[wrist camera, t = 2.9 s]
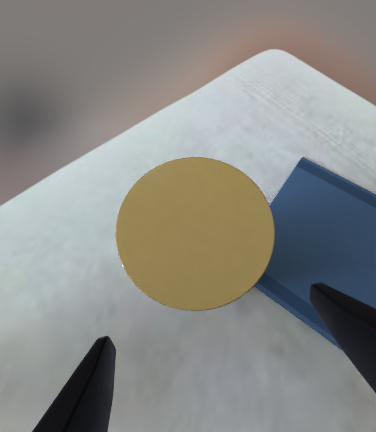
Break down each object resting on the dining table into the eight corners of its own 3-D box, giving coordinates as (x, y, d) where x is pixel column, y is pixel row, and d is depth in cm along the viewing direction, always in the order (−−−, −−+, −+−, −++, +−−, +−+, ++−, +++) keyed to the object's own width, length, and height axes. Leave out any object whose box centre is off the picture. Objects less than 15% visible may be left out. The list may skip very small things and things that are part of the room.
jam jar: (239, 254, 20) (304, 206, 8) (203, 309, 18) (214, 355, 6) (189, 220, 21) (179, 134, 9) (152, 267, 20) (81, 239, 8)
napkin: (496, 258, 19) (501, 258, 18) (452, 430, 15) (457, 433, 14) (301, 158, 23) (302, 156, 23) (228, 267, 19) (229, 267, 19)
